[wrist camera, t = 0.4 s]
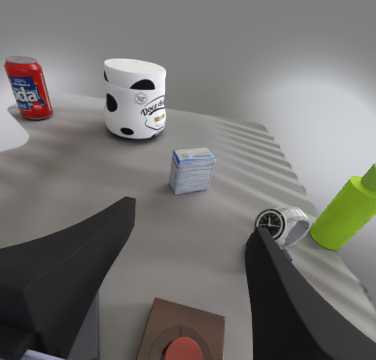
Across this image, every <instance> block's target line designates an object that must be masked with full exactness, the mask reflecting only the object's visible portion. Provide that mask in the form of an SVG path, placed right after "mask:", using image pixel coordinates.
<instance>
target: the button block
mask: <svg viewBox="0 0 376 360" xmlns="http://www.w3.org/2000/svg"><path fill="white" fill-rule="evenodd" d="M224 333H225V317H223V316H220V315H216V314H213V313H209V312H206V311H202V310H198V309H195V308H191V307H188V306H184V305H181V304H177V303H173V302H170V301H166V300H163V299H159V298H155V299H154V302H153V306H152V309H151V312H150V315H149V319H148V322H147V325H146V329H145V332H144V335H143V338H142V342H141V345H140V348H139V351H138V355H137V358H136V360H164V356H165V353H166V350H167V348H168V346H169V345H170V343H171V342H172V341H174V340H175V339H177V338H179V337H188V338H190V339H192V340H194V341H195V342H196V343H197V344H198V346H199V347H200V349H201V352H202V355H203V360H223V355H224Z"/></svg>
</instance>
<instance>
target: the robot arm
mask: <svg viewBox="0 0 376 360" xmlns="http://www.w3.org/2000/svg"><path fill="white" fill-rule="evenodd" d="M135 203H136V199H135V198H131V197H124V198H122V199H121V200H119V201H117V202H116V203H114V204H113V205H111V206H109V207H108V208H106V209H104V210H102V211H101V212H99V213H97V214H95V215H93V216H92V217H90V218H88V219H86V220H84V221H82V222H80V223H78V224H76V225H73V226H71V227H69V228H66V229H64V230H61V231H59V232H56V233H53V234H50V235H47V236H45V237H42V238H39V239H35V240H32V241H29V242H25V243H22V244H18V245H14V246H10V247H6V248H1V249H0V360H67V359H68V356H69V354H70V352H71V349H72V347H73V345H74V342H75V340H76V338H77V335H78V333H79V331H80V328H81V326H82V324H83V322H84V320H85V317H86V315H87V313H88V311H89V309H90V306H91V304H92V302H93V300H94V298H95V296H96V294H97V292H98V290H99V288H100V286H101V284H102V282H103V280H104V278H105V276H106V274H107V272H108V271H109V269H110V267H111V266H112V264H113V263H114V261H115V259H116V258H117V256H118V255H119V253H120V251H121V250H122V248H123V246H124V245H125V243H126V242H127V240H128V238H129V236H130V234H131V231H132V229H133V227H134V223H135ZM245 265H246V275H247V282H248V290H249V297H250V304H251V312H252V331H253V360H376V343H375V342H374V341H372V340H371V339H370V338H368V337H367V336H366V335H364V334H363V333H362V332H361V331H360V330H358V329H357V328H356V327H355V326H354V325H352V324H351V323H350V322H349V321H348V320H346V319H345V318H344V317H343V316H342V315H341V314H340V313H339V312H337V311H336V310H335V309H334V308H333V307H332V306H331V305H330V304H329V303H328V302H327V301H326V300H325V299H324V298H323V297H322V296H321V295H320V294H319V293H318V292H317V291H316V290H315V289H314V288H313V287H312V286H311V285H310V284H309V283H308V282H307V281H306V280H305V278H304V277H303V276H302V275H301V274H300V273H299V271H298V270H297V269H296V268H295V267H294V265H293V264H292V263H291V262H290V260H289V259H288V258H287V256H286V255H285V254H284V252H283V251H282V250H281V248H280V247H279V245H278V244H277V243H276V241H275V240H274V238H273V237H272V235H271V234H270V233H269V231H268V230H267V229H266V228H262V227H258V226H256V227H255V229H254V232H253V234H252V237H251V239H250V241H249V244H248V246H247V249H246V251H245Z"/></svg>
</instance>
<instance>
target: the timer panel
mask: <svg viewBox="0 0 376 360" xmlns="http://www.w3.org/2000/svg"><path fill="white" fill-rule="evenodd" d="M67 360H99V299H98V292H97V294H96V296H95V298H94V300H93V302H92V304H91V306H90V309H89V311H88V313H87V315H86V317H85V320H84V322H83V324H82V326H81V328H80V331H79V333H78V335H77V338H76V340H75V342H74V345H73V347H72V349H71V352H70V354H69V356H68V359H67Z"/></svg>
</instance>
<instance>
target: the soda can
mask: <svg viewBox="0 0 376 360" xmlns="http://www.w3.org/2000/svg"><path fill="white" fill-rule="evenodd" d="M5 60H6V62H5V65H4V67H5V70H6V73H7V76H8V79H9V81H10V84H11V87H12V90H13V93H14V96H15V99H16V102H17V104H18V107H19V110H20V113H21V115H22V116H23V117H26V118H29V119H33V120H41V119H45V118H48V117H49V116H51V115H52V113H53V111H52V107H51V103H50V99H49V95H48V91H47V87H46V83H45V79H44V75H43V71H42V68H41V66H40V65H39V64H38V63H37V60H36V59H34V58H31V57H23V56H11V57H6V58H5Z"/></svg>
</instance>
